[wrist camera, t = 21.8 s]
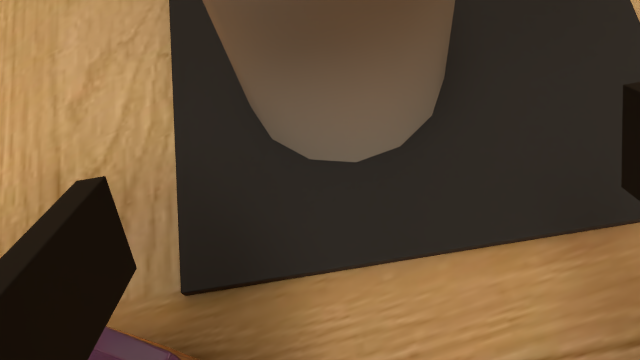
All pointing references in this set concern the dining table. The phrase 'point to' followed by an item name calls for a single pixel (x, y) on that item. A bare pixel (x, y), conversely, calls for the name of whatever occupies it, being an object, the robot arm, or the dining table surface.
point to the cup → (337, 69)
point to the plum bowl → (132, 348)
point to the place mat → (411, 151)
